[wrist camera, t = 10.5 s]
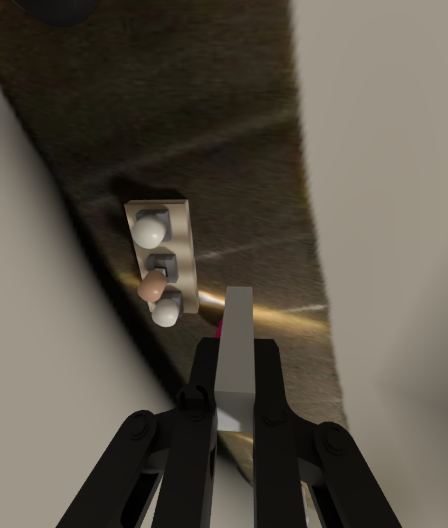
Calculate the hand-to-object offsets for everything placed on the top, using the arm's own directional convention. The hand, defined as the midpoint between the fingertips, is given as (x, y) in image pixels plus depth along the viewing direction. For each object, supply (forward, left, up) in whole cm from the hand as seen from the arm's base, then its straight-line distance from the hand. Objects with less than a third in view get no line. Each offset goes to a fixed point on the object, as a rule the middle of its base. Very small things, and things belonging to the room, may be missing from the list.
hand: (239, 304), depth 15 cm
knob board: (+14, -16, -32) cm, 39 cm away
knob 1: (+5, -16, -29) cm, 34 cm away
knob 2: (+24, -16, -29) cm, 41 cm away
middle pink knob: (+15, -16, -27) cm, 34 cm away
